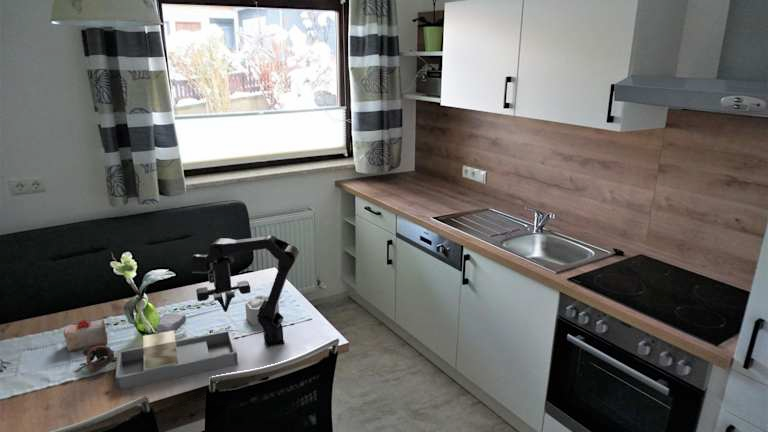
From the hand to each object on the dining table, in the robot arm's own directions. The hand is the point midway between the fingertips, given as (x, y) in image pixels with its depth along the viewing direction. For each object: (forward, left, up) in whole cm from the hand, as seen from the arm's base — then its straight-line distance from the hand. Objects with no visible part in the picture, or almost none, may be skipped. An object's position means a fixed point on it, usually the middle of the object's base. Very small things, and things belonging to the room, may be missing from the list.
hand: (225, 311), depth 192 cm
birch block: (+23, +10, -9) cm, 27 cm away
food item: (+49, -17, -12) cm, 53 cm away
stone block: (+21, -20, -12) cm, 31 cm away
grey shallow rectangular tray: (+18, +10, -12) cm, 24 cm away
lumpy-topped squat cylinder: (-16, -12, -12) cm, 23 cm away
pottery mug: (+43, -1, -12) cm, 45 cm away
